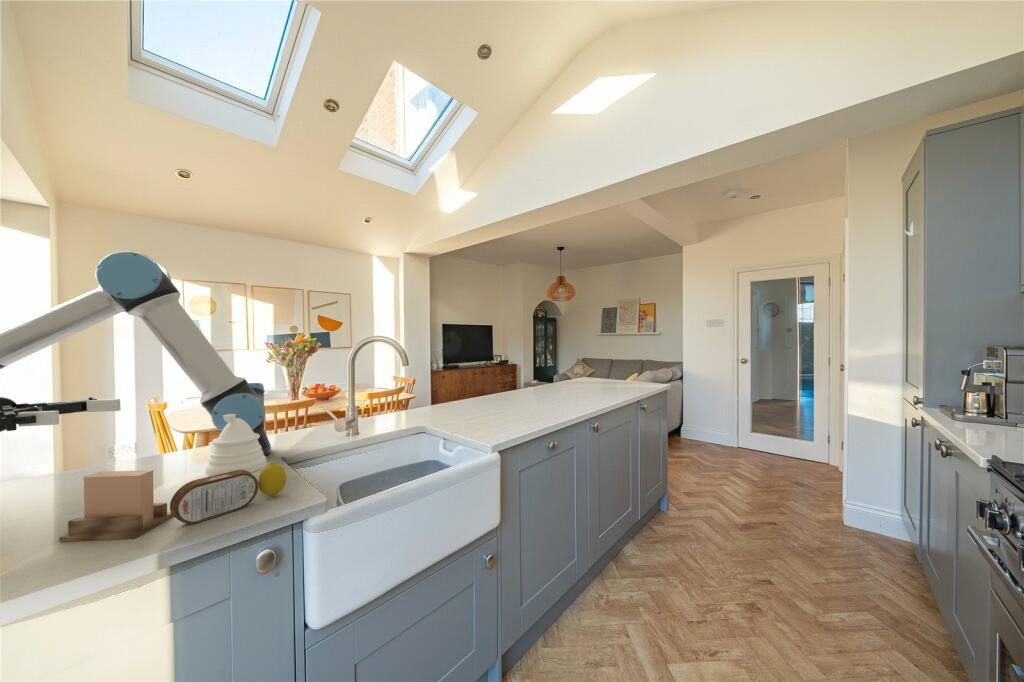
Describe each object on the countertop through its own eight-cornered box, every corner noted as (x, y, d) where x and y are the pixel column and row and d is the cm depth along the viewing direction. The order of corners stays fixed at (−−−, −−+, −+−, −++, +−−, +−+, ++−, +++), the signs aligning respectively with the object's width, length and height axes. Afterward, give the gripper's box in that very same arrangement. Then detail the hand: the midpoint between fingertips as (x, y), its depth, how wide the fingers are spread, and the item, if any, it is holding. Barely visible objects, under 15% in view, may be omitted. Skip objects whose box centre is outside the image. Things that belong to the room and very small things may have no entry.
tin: (254, 500, 88) (254, 464, 88) (260, 504, 86) (260, 466, 86) (169, 527, 76) (168, 485, 76) (174, 532, 74) (174, 488, 74)
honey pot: (235, 494, 92) (234, 419, 91) (191, 490, 94) (190, 417, 94) (278, 475, 104) (277, 409, 104) (238, 472, 107) (238, 408, 107)
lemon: (262, 493, 92) (262, 460, 92) (288, 490, 94) (288, 458, 93) (255, 503, 87) (254, 468, 86) (282, 500, 88) (282, 465, 88)
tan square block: (84, 529, 74) (83, 477, 73) (100, 521, 77) (99, 471, 76) (140, 526, 74) (140, 475, 74) (153, 519, 77) (153, 470, 77)
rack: (59, 541, 70) (59, 524, 70) (106, 518, 79) (106, 502, 79) (135, 538, 72) (135, 520, 72) (173, 516, 80) (173, 500, 80)
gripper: (45, 419, 94) (140, 415, 96) (-107, 451, 69) (25, 444, 71) (43, 389, 94) (138, 385, 96) (-110, 409, 69) (23, 404, 71)
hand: (90, 410), depth 84 cm, fingers open, 13 cm apart
